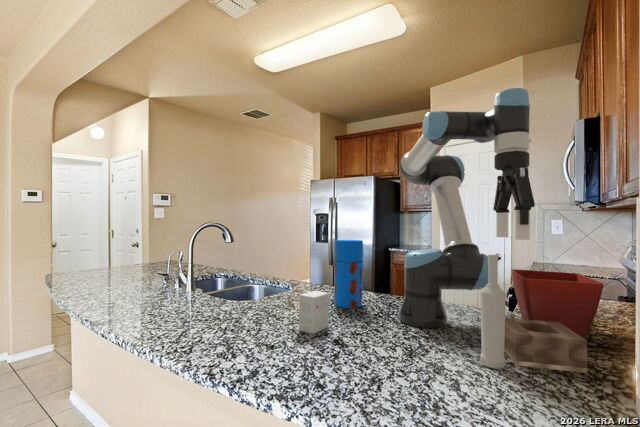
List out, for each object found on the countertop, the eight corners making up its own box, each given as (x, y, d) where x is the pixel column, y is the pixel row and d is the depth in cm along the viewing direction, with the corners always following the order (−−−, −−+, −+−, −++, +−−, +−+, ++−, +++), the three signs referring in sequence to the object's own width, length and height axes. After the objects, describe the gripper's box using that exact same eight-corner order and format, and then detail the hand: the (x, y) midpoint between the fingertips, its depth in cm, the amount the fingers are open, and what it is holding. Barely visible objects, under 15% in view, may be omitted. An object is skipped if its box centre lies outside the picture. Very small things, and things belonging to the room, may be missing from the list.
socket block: (515, 365, 76) (515, 334, 76) (498, 343, 89) (498, 317, 89) (587, 373, 72) (587, 340, 72) (558, 349, 86) (558, 322, 86)
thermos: (332, 301, 134) (333, 239, 134) (358, 300, 135) (359, 239, 135) (336, 308, 123) (337, 241, 123) (365, 307, 124) (365, 241, 125)
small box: (314, 323, 104) (314, 290, 104) (329, 327, 101) (329, 292, 101) (298, 330, 97) (298, 294, 98) (313, 334, 94) (314, 297, 94)
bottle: (509, 370, 73) (509, 256, 73) (483, 368, 74) (484, 255, 74) (501, 360, 78) (501, 254, 78) (477, 358, 79) (477, 253, 80)
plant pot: (605, 346, 89) (605, 282, 89) (523, 336, 95) (523, 277, 96) (578, 325, 106) (577, 272, 107) (510, 318, 113) (510, 269, 113)
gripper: (552, 139, 69) (553, 241, 69) (510, 161, 94) (510, 236, 93) (513, 141, 71) (513, 240, 70) (481, 162, 95) (481, 236, 95)
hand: (511, 238), depth 82 cm, fingers open, 13 cm apart
